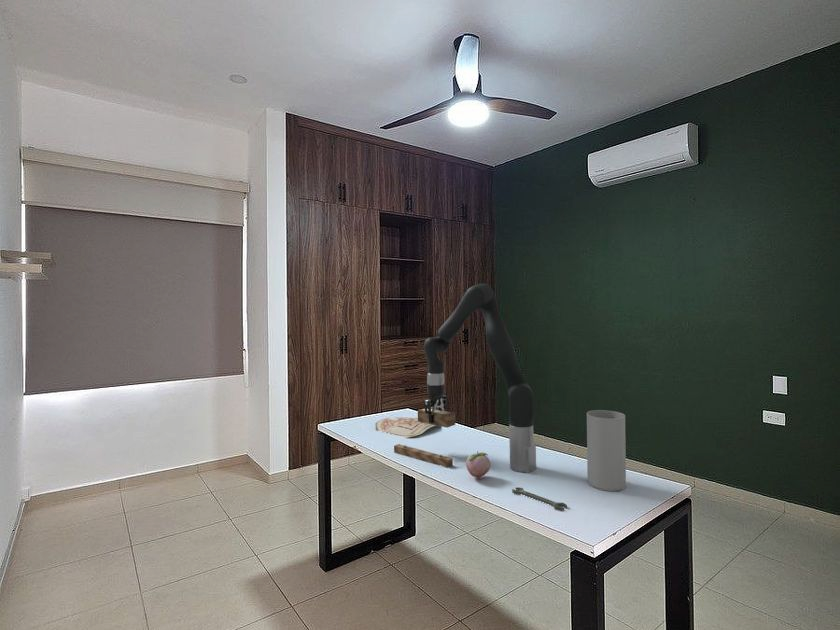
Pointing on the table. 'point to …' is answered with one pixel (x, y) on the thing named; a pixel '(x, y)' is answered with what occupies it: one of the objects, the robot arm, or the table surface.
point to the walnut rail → (423, 455)
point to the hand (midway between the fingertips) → (436, 421)
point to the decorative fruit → (478, 464)
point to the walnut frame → (437, 418)
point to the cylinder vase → (606, 450)
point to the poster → (402, 426)
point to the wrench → (540, 499)
